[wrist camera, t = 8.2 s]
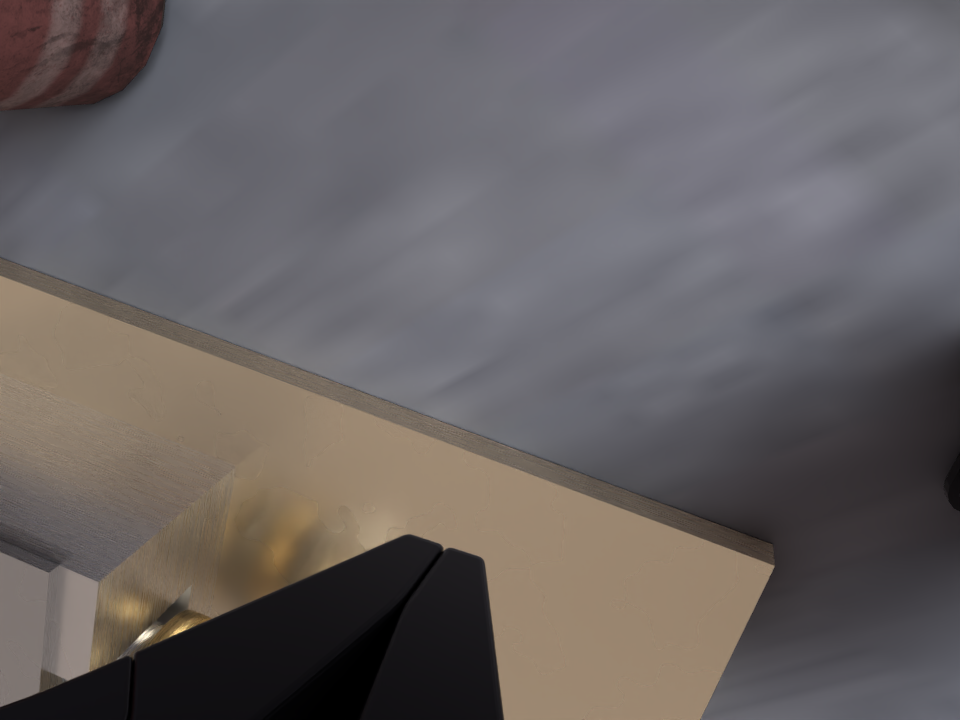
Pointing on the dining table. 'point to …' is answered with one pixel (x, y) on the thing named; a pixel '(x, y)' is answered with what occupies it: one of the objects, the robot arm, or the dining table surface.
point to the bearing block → (321, 515)
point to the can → (73, 49)
